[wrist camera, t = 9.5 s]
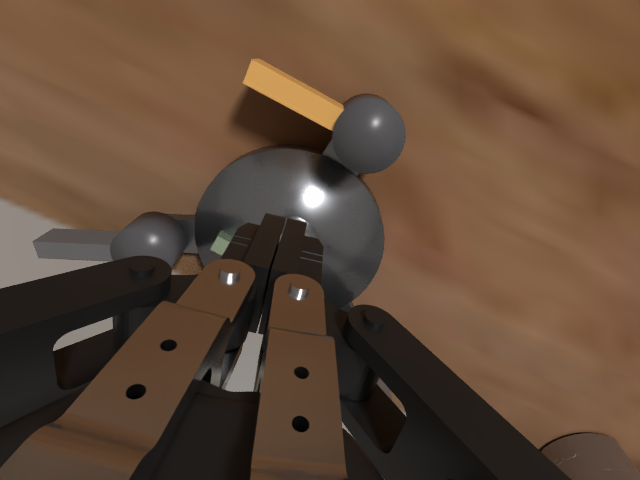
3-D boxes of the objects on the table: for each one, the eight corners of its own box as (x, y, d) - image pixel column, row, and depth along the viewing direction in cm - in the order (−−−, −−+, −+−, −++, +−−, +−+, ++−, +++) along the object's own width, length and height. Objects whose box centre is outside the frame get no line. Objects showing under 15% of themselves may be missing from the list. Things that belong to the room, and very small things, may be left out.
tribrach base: (486, 190, 28) (509, 211, 24) (348, 346, 36) (349, 379, 32) (234, 19, 23) (215, 13, 20) (138, 241, 31) (113, 265, 27)
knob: (182, 212, 28) (165, 230, 25) (190, 261, 30) (175, 283, 28) (53, 207, 29) (22, 224, 26) (69, 256, 31) (42, 277, 28)
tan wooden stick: (410, 113, 24) (420, 122, 21) (375, 170, 26) (380, 185, 23) (270, 34, 22) (261, 31, 20) (244, 101, 24) (232, 108, 22)
